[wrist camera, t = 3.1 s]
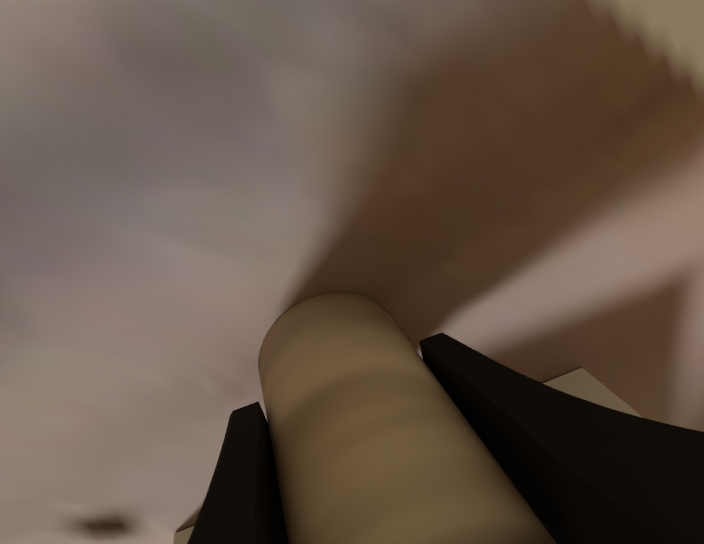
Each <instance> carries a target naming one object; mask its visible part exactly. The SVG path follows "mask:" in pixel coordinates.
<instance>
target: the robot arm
mask: <svg viewBox="0 0 704 544" xmlns="http://www.w3.org/2000/svg"><path fill="white" fill-rule="evenodd" d="M419 342H420V347H421V352H422V357H423V361H424V362H425V364H426V365H427V366H428V368H429V369H430V370H431V372H432V373H433V375H434V376H435V377H436V379H437V380H438V381H439V383H440V384H441V385H442V387H443V388H444V390H445V391H446V392H447V394H448V395H449V396H450V398H451V399H452V401H453V402H454V403H455V405H456V406H457V407H458V409H459V410H460V412H461V413H462V414H463V416H464V417H465V418H466V420H467V421H468V423H469V424H470V425H471V427H472V428H473V429H474V431H475V432H476V433H477V435H478V436H479V438H480V439H481V440H482V442H483V443H484V444H485V446H486V447H487V449H488V450H489V451H490V453H491V454H492V455H493V457H494V458H495V460H496V461H497V462H498V464H499V465H500V466H501V468H502V469H503V471H504V472H505V473H506V475H507V476H508V477H509V479H510V480H511V481H512V483H513V484H514V486H515V487H516V488H517V490H518V491H519V492H520V494H521V495H522V497H523V498H524V499H525V501H526V502H527V503H528V505H529V506H530V508H531V509H532V510H533V512H534V513H535V514H536V516H537V517H538V519H539V520H540V521H541V523H542V524H543V525H544V527H545V528H546V529H547V531H548V532H549V534H550V535H551V536H552V538H553V539H554V541H555V542H556V543H557V544H704V432H701V431H696V430H691V429H686V428H682V427H678V426H673V425H669V424H665V423H661V422H657V421H653V420H649V419H646V418H642V417H638V416H635V415H631V414H628V413H624V412H620V411H617V410H614V409H611V408H607V407H604V406H601V405H598V404H595V403H593V402H590V401H587V400H584V399H581V398H578V397H575V396H572V395H570V394H567V393H565V392H562V391H559V390H557V389H554V388H552V387H550V386H547V385H545V384H543V383H540V382H538V381H536V380H533V379H531V378H529V377H527V376H524V375H522V374H520V373H518V372H516V371H514V370H512V369H510V368H508V367H506V366H504V365H502V364H500V363H498V362H496V361H494V360H492V359H490V358H488V357H486V356H485V355H483V354H481V353H479V352H477V351H475V350H473V349H472V348H470V347H468V346H466V345H464V344H462V343H461V342H459V341H457V340H455V339H453V338H452V337H450V336H448V335H446V334H444V333H439V334H437V335H434V336H431V337H429V338H426V339H423V340H421V341H419ZM187 544H289V543H288V537H287V531H286V525H285V520H284V514H283V508H282V502H281V497H280V491H279V485H278V479H277V473H276V468H275V462H274V456H273V450H272V444H271V439H270V433H269V427H268V423H267V420H266V418H265V416H264V413H263V411H262V409H261V406H260V404H259V402H256V403H253V404H250V405H248V406H245V407H242V408H240V409H237V410H234V411H233V412H232V413H231V415H230V418H229V422H228V426H227V430H226V434H225V438H224V442H223V445H222V449H221V452H220V455H219V459H218V462H217V465H216V468H215V471H214V474H213V477H212V480H211V483H210V486H209V489H208V492H207V495H206V497H205V500H204V503H203V505H202V508H201V510H200V513H199V515H198V518H197V520H196V523H195V525H194V528H193V531H192V533H191V535H190V538H189V540H188V542H187Z"/></svg>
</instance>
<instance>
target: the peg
mask: <svg viewBox="0 0 704 544" xmlns="http://www.w3.org/2000/svg"><path fill="white" fill-rule="evenodd" d="M258 368H259V375H260V381H261V387H262V392H263V398H264V404H265V410H266V416H267V421H268V427H269V433H270V439H271V444H272V450H273V456H274V462H275V468H276V473H277V479H278V485H279V491H280V497H281V502H282V508H283V514H284V520H285V525H286V531H287V537H288V543H289V544H557V543H556V542H555V541H554V539H553V538H552V536H551V535H550V534H549V532H548V531H547V529H546V528H545V527H544V525H543V524H542V523H541V521H540V520H539V519H538V517H537V516H536V514H535V513H534V512H533V510H532V509H531V508H530V506H529V505H528V503H527V502H526V501H525V499H524V498H523V497H522V495H521V494H520V492H519V491H518V490H517V488H516V487H515V486H514V484H513V483H512V481H511V480H510V479H509V477H508V476H507V475H506V473H505V472H504V471H503V469H502V468H501V466H500V465H499V464H498V462H497V461H496V460H495V458H494V457H493V455H492V454H491V453H490V451H489V450H488V449H487V447H486V446H485V444H484V443H483V442H482V440H481V439H480V438H479V436H478V435H477V433H476V432H475V431H474V429H473V428H472V427H471V425H470V424H469V423H468V421H467V420H466V418H465V417H464V416H463V414H462V413H461V412H460V410H459V409H458V407H457V406H456V405H455V403H454V402H453V401H452V399H451V398H450V396H449V395H448V394H447V392H446V391H445V390H444V388H443V387H442V385H441V384H440V383H439V381H438V380H437V379H436V377H435V376H434V375H433V373H432V372H431V370H430V369H429V368H428V366H427V365H426V364H425V362H424V361H423V359H422V358H421V357H420V355H419V354H418V353H417V351H416V350H415V348H414V347H413V346H412V344H411V343H410V342H409V340H408V339H407V337H406V336H405V335H404V333H403V332H402V331H401V329H400V328H399V327H398V325H397V324H396V322H395V321H394V320H393V318H392V317H391V316H390V314H389V313H388V312H387V311H386V310H385V309H384V308H383V307H382V306H381V305H380V304H378V303H377V302H376V301H374V300H372V299H370V298H368V297H365V296H362V295H359V294H354V293H347V292H332V293H326V294H321V295H318V296H314V297H311V298H309V299H306V300H304V301H302V302H300V303H298V304H297V305H295V306H293V307H292V308H290V309H289V310H288V311H286V312H285V313H284V314H283V315H282V316H281V317H280V318H278V320H277V321H276V322H275V323H274V324H273V325H272V327H271V328H270V330H269V331H268V333H267V335H266V337H265V339H264V341H263V343H262V346H261V349H260V353H259V361H258Z"/></svg>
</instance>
